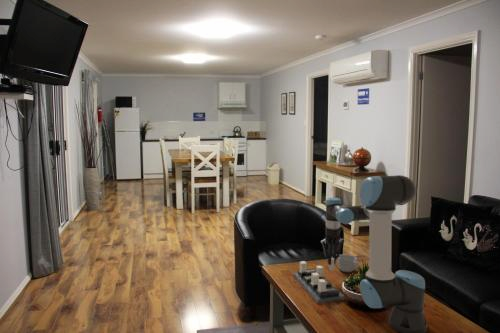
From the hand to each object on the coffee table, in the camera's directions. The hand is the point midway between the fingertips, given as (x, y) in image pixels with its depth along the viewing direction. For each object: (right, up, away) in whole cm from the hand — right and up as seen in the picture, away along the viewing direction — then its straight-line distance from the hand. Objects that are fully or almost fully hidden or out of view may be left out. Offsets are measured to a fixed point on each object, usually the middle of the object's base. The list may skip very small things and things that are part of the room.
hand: (331, 269), depth 213 cm
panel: (-9, -8, -6) cm, 13 cm away
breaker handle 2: (-11, -4, -11) cm, 16 cm away
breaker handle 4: (-8, -5, -18) cm, 21 cm away
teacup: (+13, -5, +15) cm, 21 cm away
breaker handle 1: (-14, -2, +5) cm, 15 cm away
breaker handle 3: (-7, -3, -2) cm, 7 cm away
